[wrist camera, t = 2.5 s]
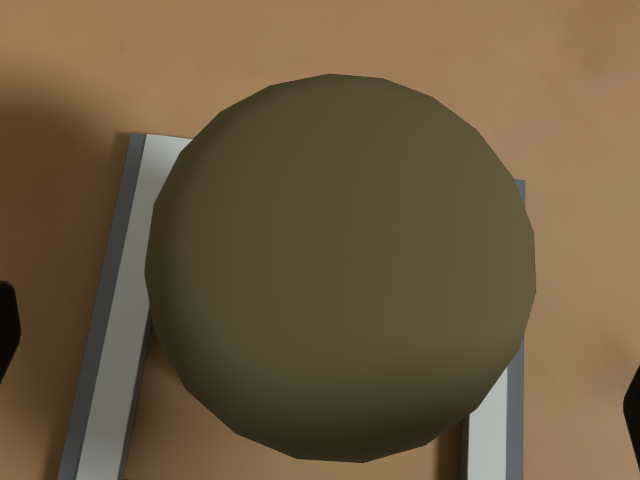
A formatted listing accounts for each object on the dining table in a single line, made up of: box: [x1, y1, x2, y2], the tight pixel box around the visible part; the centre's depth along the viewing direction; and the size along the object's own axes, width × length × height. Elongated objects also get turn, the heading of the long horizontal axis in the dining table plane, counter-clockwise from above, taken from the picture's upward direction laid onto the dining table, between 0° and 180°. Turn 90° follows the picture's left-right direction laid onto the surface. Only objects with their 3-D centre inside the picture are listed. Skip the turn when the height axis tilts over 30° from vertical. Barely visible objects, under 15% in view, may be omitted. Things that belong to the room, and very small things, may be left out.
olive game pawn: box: [144, 74, 536, 463], centre depth 12 cm, size 6×6×11 cm
